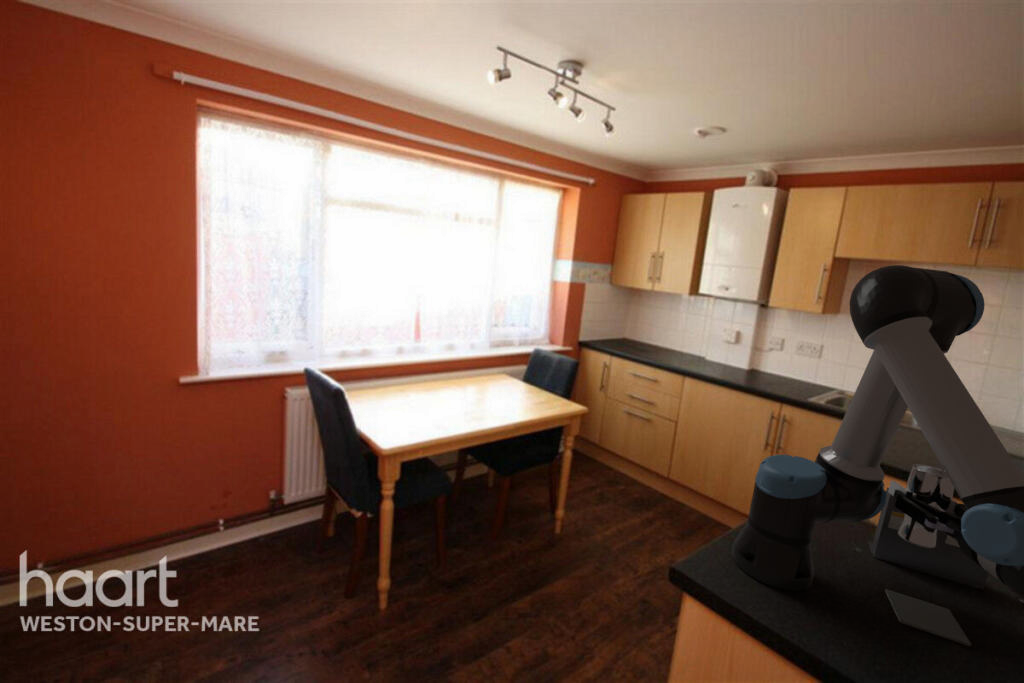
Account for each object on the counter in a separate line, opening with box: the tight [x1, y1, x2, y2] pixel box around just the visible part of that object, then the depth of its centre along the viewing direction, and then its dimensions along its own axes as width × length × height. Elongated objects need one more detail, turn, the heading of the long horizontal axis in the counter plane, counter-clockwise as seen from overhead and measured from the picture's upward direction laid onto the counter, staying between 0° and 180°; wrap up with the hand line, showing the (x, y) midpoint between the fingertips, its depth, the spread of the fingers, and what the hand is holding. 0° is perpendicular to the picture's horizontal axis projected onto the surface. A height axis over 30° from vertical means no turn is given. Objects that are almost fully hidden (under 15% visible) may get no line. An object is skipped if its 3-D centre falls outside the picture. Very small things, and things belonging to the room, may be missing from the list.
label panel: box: [868, 487, 990, 590], centre depth 104 cm, size 19×6×16 cm, turn 64°
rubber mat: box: [884, 588, 972, 647], centre depth 88 cm, size 10×10×1 cm
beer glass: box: [898, 463, 955, 548], centre depth 95 cm, size 7×7×15 cm
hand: (910, 489), depth 99 cm, fingers closed on beer glass, 7 cm apart
